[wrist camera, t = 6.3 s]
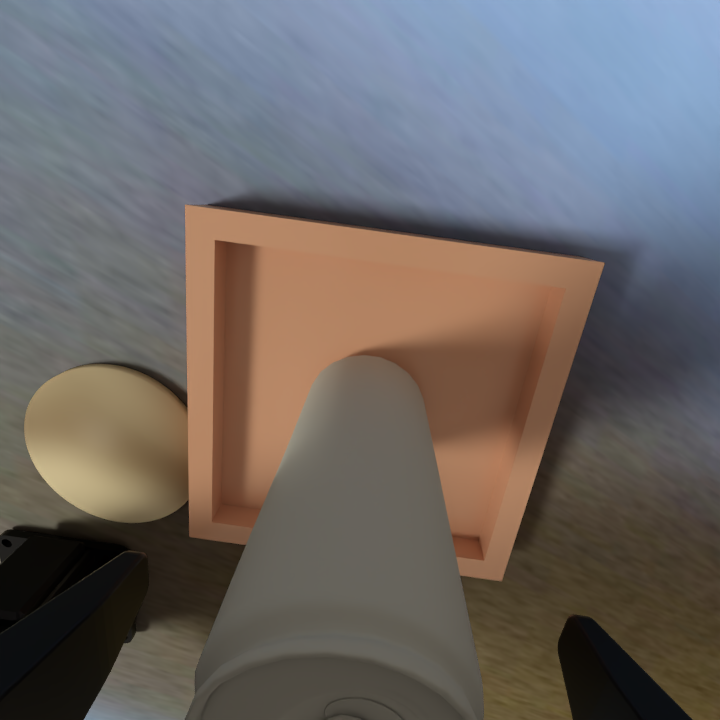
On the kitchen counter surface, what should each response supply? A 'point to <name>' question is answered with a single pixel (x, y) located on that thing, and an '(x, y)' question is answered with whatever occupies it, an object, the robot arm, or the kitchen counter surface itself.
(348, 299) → the tray
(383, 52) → the kitchen counter surface
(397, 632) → the beverage can
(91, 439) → the cork coaster
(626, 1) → the kitchen counter surface
